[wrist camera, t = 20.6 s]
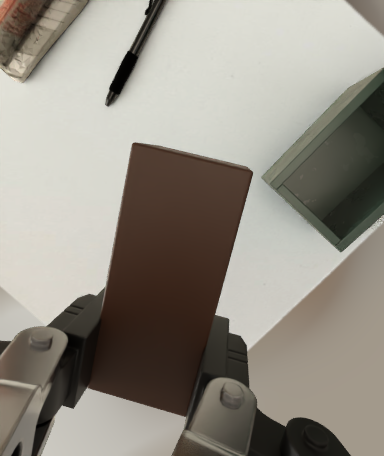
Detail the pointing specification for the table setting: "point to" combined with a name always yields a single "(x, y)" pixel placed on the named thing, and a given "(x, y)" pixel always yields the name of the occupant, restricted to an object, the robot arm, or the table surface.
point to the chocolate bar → (166, 274)
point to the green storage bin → (338, 165)
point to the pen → (134, 50)
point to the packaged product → (32, 31)
